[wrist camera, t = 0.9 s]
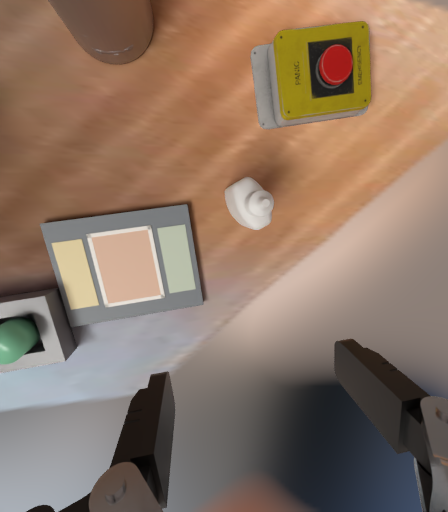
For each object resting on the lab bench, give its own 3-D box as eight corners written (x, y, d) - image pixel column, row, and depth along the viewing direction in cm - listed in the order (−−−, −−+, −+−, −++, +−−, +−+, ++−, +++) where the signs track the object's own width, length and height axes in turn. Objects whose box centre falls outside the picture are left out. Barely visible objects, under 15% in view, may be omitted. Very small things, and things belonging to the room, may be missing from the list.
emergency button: (391, 101, 27) (268, 119, 26) (364, 116, 32) (258, 131, 30) (390, 7, 25) (257, 21, 24) (362, 36, 30) (248, 50, 28)
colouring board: (44, 223, 29) (39, 223, 28) (187, 204, 31) (187, 204, 30) (73, 324, 32) (70, 327, 31) (203, 302, 34) (203, 304, 33)
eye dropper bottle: (256, 183, 31) (292, 169, 20) (255, 225, 32) (288, 235, 21) (224, 183, 31) (241, 167, 19) (223, 225, 32) (240, 236, 20)
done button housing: (-14, 299, 30) (-37, 308, 27) (58, 287, 31) (44, 296, 28) (9, 359, 32) (-10, 375, 29) (76, 347, 33) (65, 361, 30)
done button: (-4, 320, 29) (-27, 333, 26) (34, 314, 29) (16, 326, 26) (8, 352, 30) (-13, 367, 27) (44, 345, 30) (28, 360, 27)
